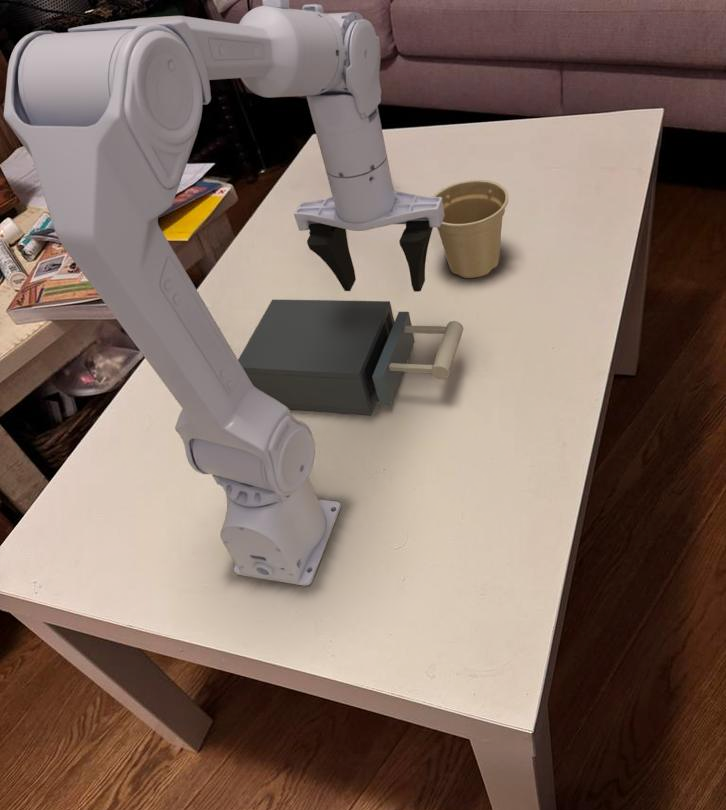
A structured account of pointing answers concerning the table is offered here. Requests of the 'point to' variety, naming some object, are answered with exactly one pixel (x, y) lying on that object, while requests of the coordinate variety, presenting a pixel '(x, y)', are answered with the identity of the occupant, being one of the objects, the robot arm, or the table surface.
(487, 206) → the flower pot
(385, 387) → the drawer
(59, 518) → the table surface
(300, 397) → the compartment
